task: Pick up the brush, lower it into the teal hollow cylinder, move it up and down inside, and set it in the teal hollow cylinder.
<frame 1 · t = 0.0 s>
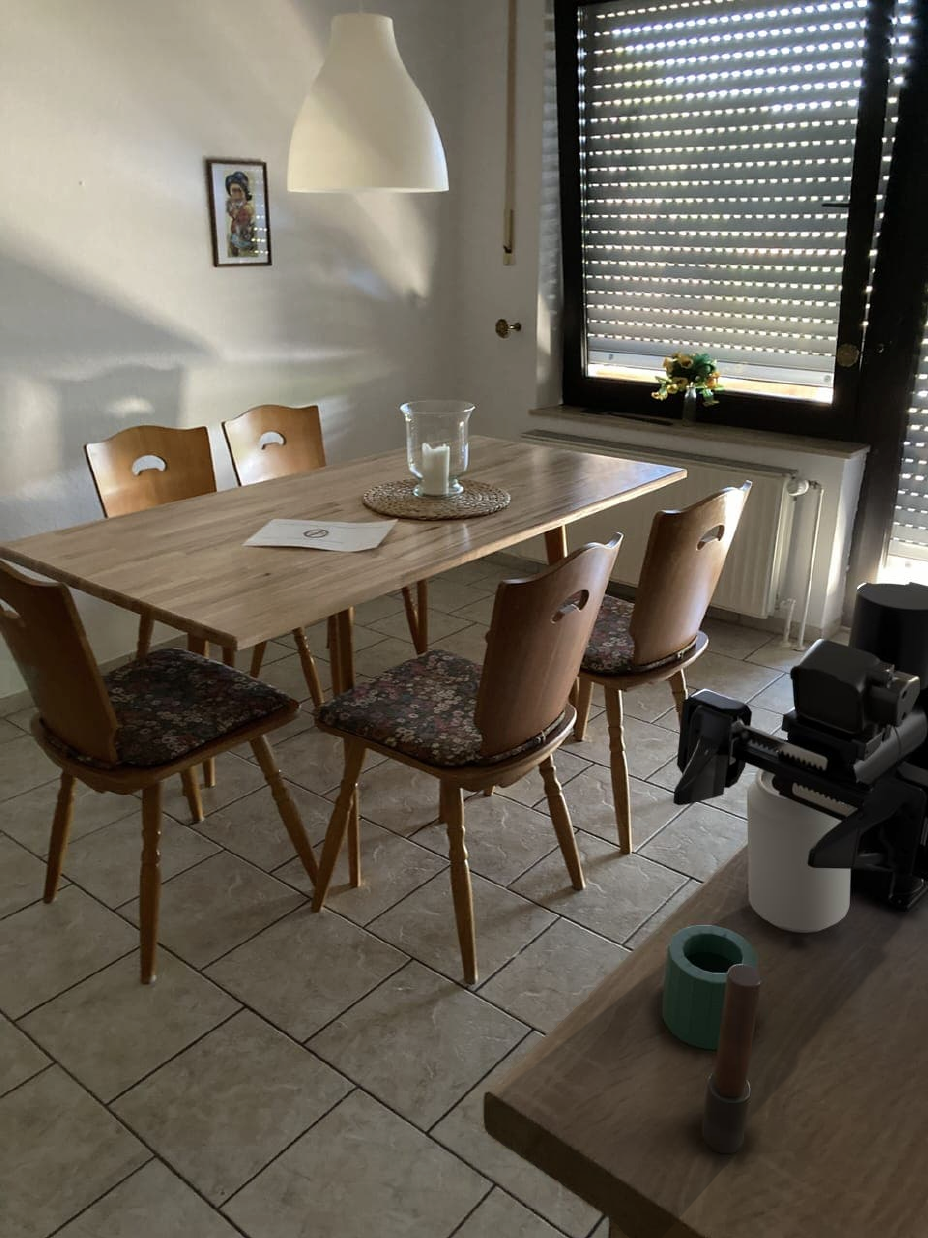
hand: (740, 826, 62), 17 cm above the table, tool horizontal, fingers open, 9 cm apart
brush: (722, 1136, 61), on the table
teal hollow cylinder: (704, 1018, 70), on the table
can: (798, 909, 80), on the table
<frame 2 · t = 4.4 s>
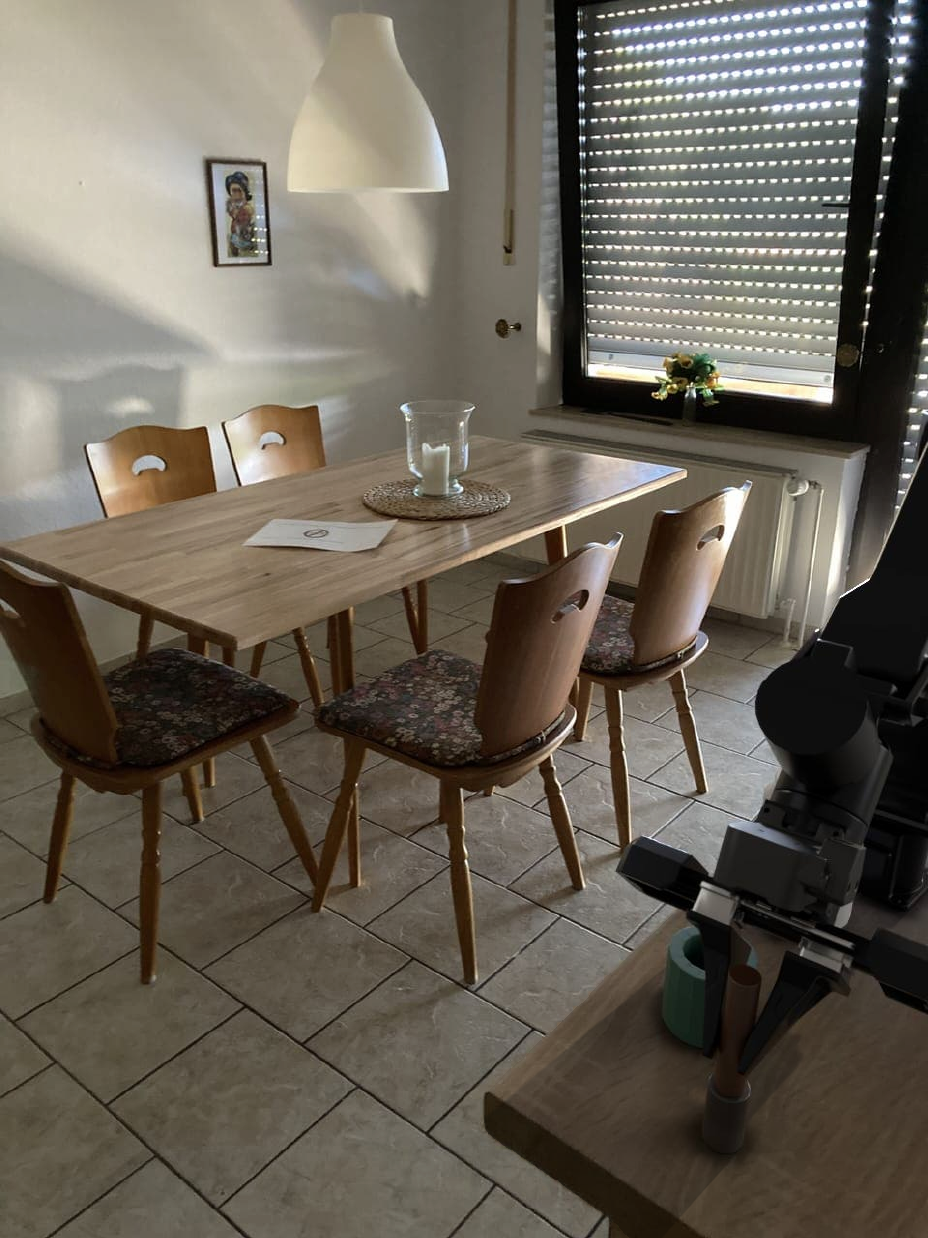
hand: (723, 1066, 57), 7 cm above the table, tool tilted 45°, fingers closed on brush, 2 cm apart
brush: (722, 1136, 61), on the table, touching gripper
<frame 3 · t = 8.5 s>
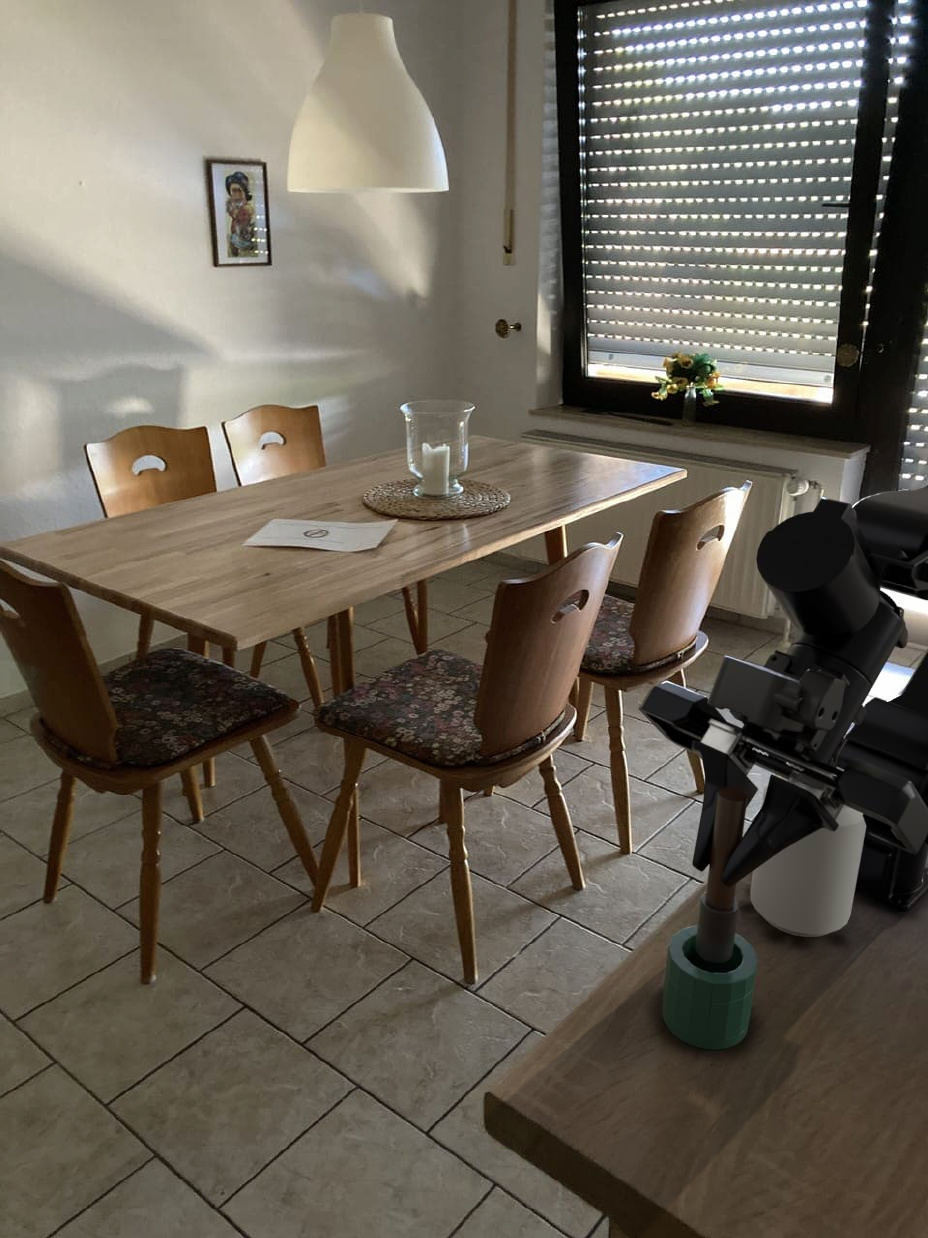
hand: (710, 876, 65), 12 cm above the table, tool tilted 45°, fingers closed on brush
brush: (713, 951, 68), point 6 cm above the table, touching gripper
everything else where it was.
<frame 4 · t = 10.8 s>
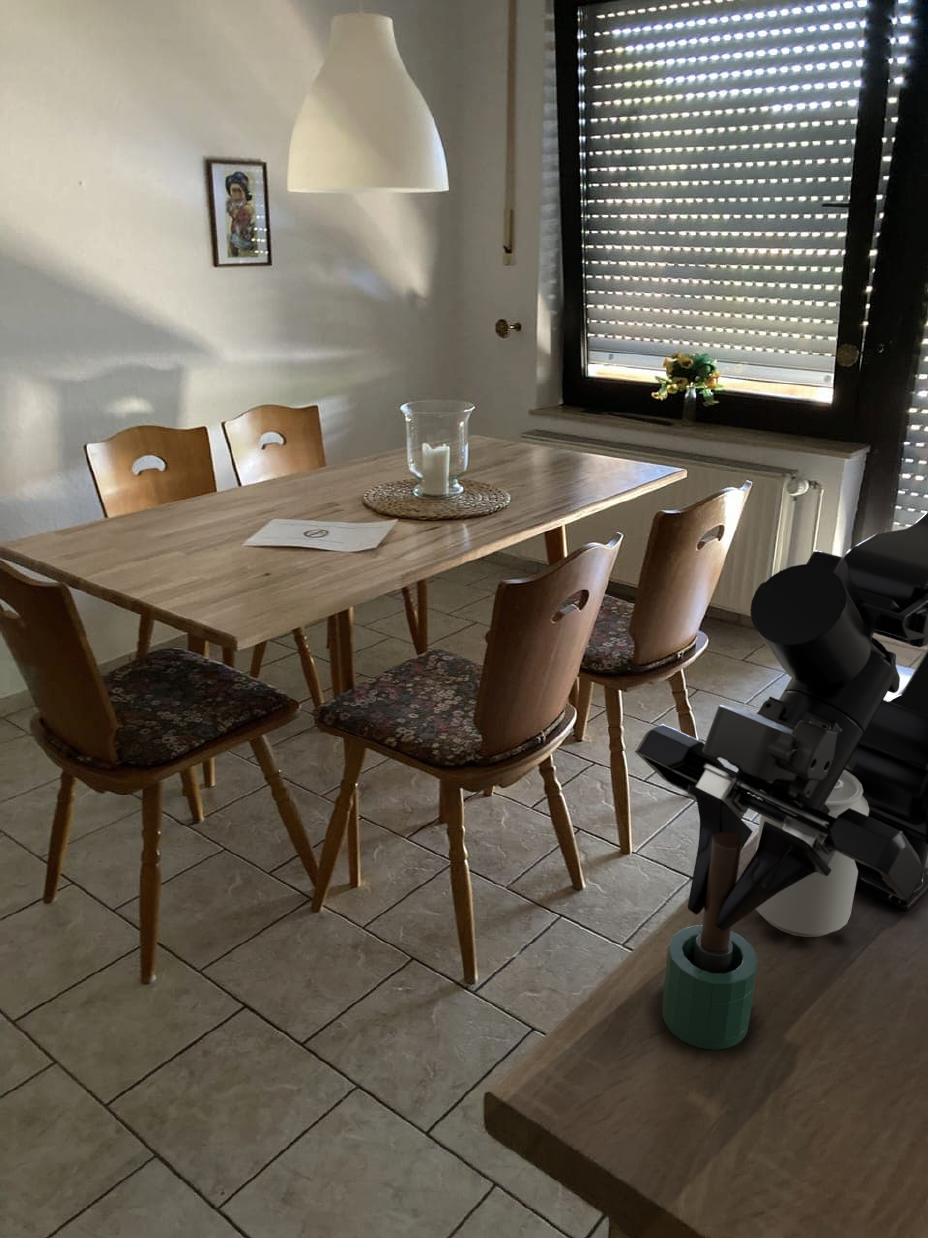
hand: (705, 920, 66), 9 cm above the table, tool tilted 45°, fingers closed on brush, 2 cm apart
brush: (708, 991, 69), point 2 cm above the table, touching gripper
everything else where it was.
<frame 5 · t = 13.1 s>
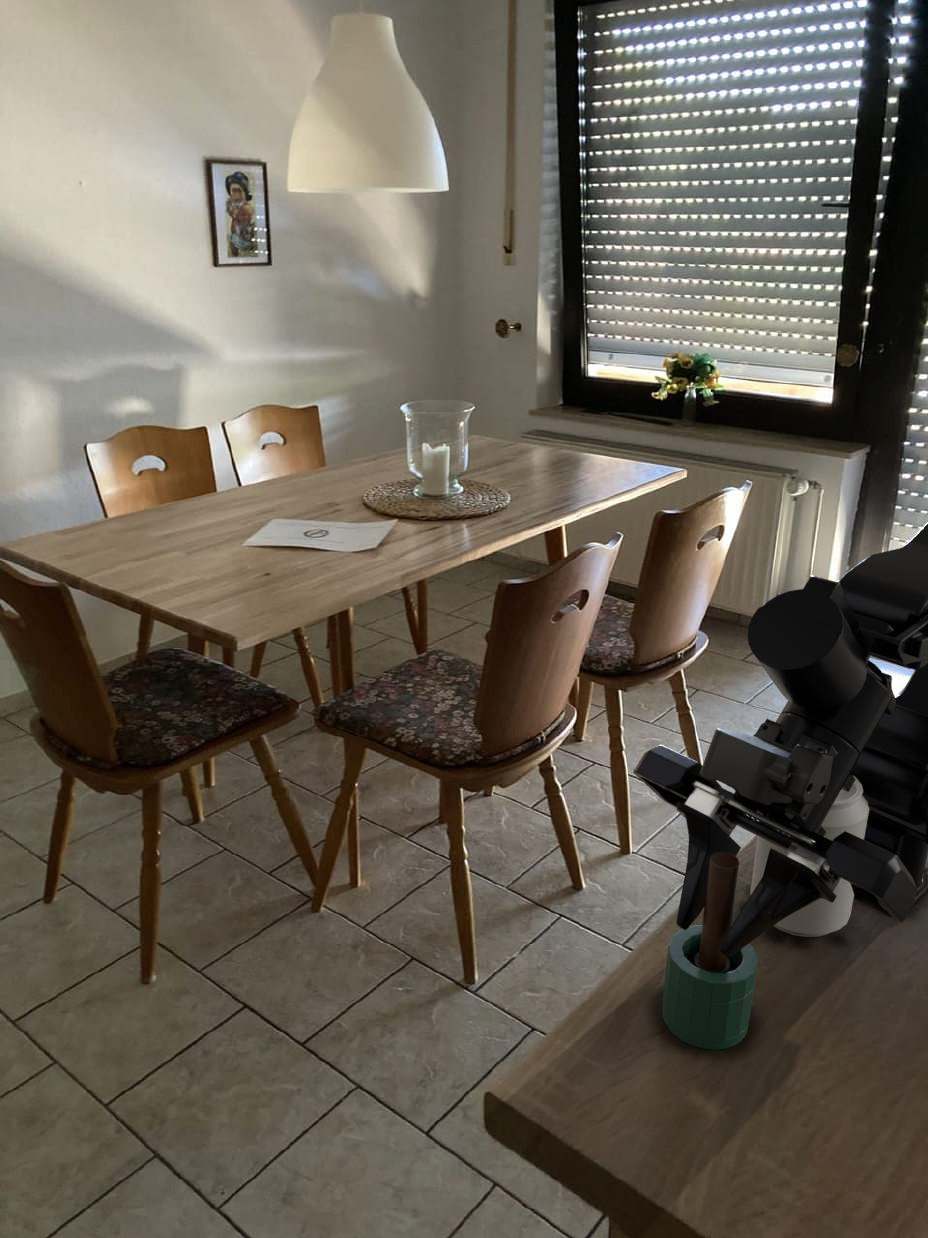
hand: (702, 940, 66), 7 cm above the table, tool tilted 45°, fingers open, 3 cm apart
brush: (706, 1009, 70), point 1 cm above the table, touching teal hollow cylinder
everything else where it was.
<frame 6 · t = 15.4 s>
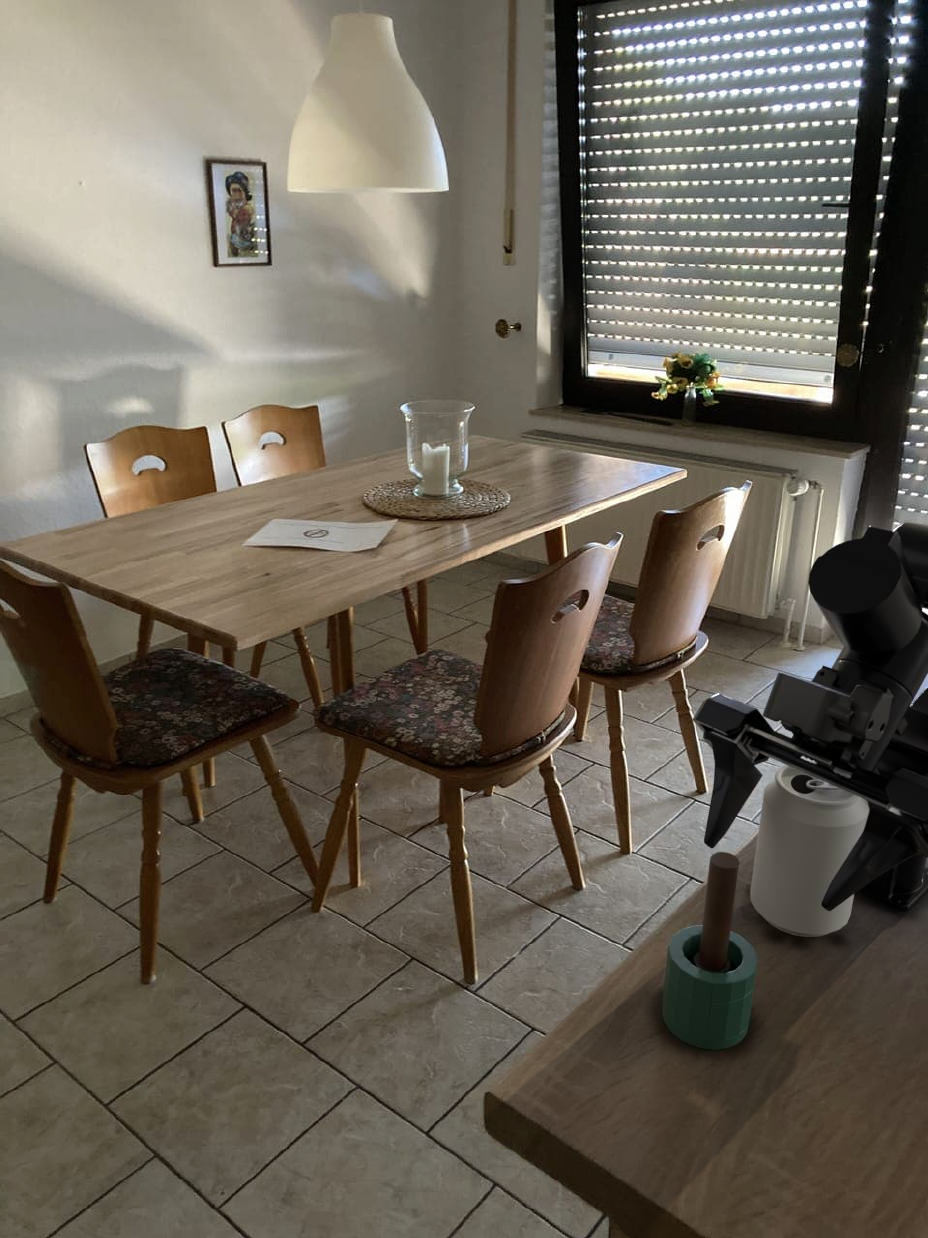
hand: (763, 875, 70), 9 cm above the table, tool tilted 45°, fingers open, 9 cm apart
nothing on the table moved.
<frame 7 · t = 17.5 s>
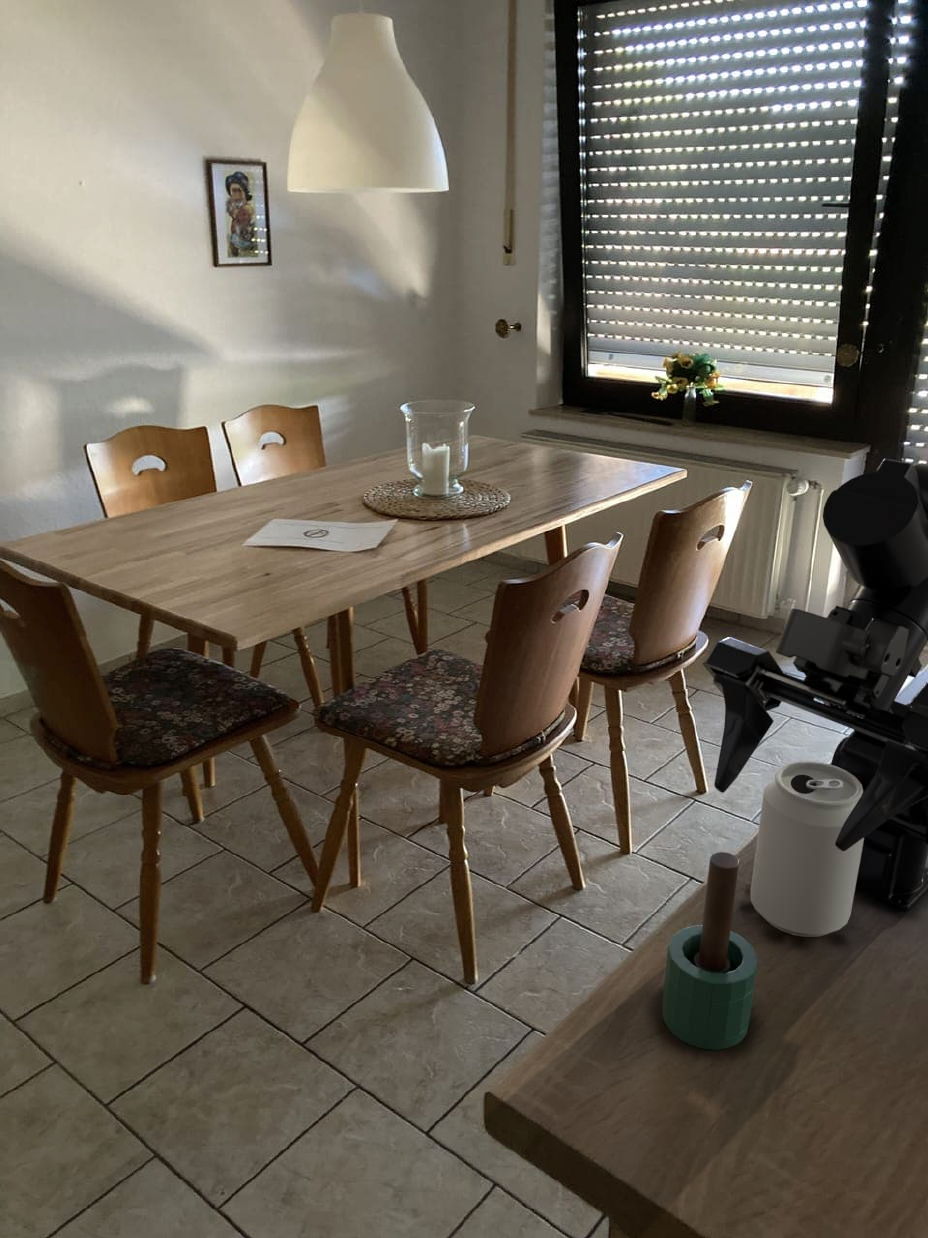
hand: (775, 817, 68), 14 cm above the table, tool tilted 45°, fingers open, 9 cm apart
nothing on the table moved.
at the end: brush 0.0 cm off-centre in the teal hollow cylinder, point 0.8 cm above the teal hollow cylinder's base; the gripper is holding nothing; can tilted 0° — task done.
